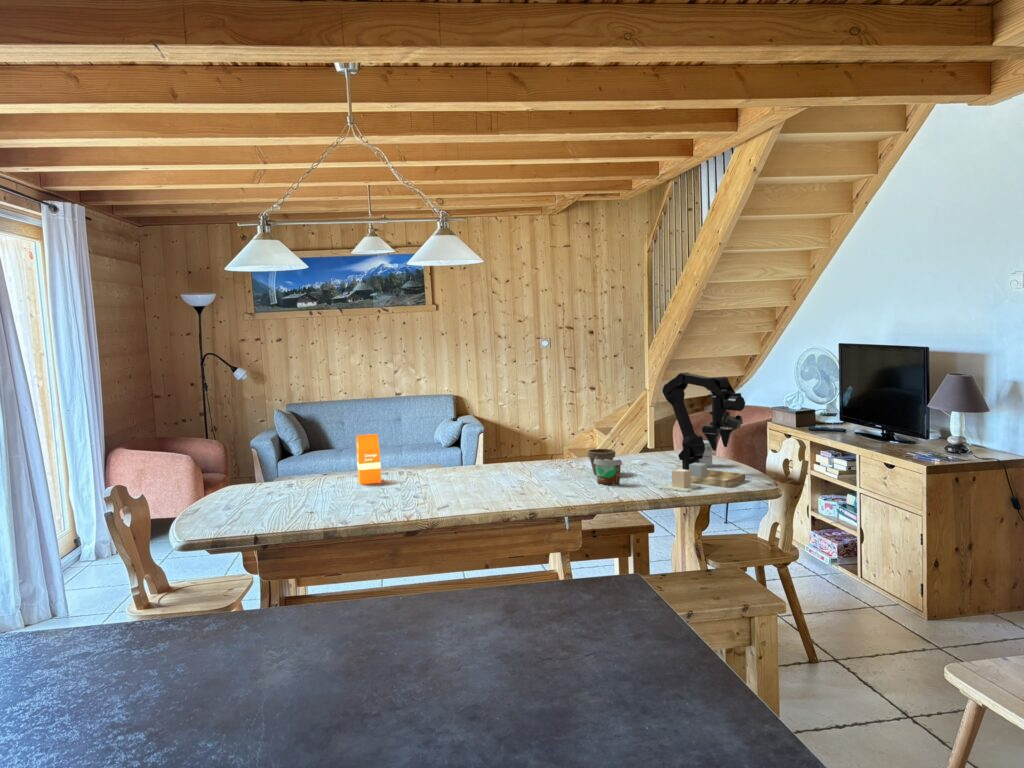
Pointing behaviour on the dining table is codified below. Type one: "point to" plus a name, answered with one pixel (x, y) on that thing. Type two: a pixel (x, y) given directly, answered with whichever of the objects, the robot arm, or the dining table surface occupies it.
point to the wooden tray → (719, 478)
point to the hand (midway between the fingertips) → (720, 448)
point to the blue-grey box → (698, 470)
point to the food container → (608, 471)
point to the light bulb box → (707, 454)
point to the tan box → (681, 478)
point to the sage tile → (681, 488)
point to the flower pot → (600, 456)
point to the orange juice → (368, 459)
